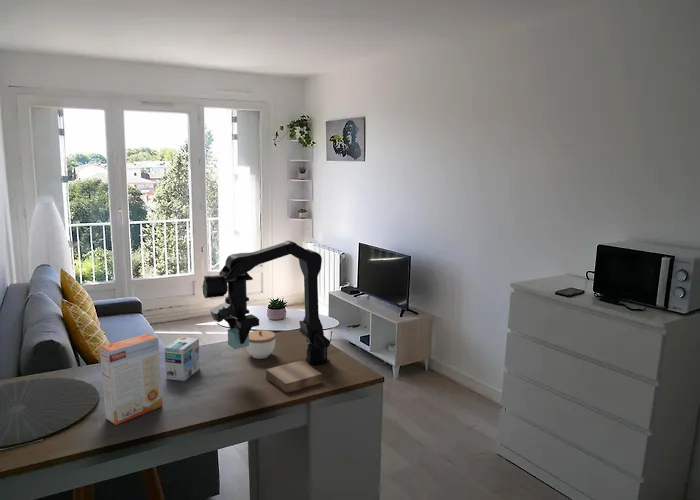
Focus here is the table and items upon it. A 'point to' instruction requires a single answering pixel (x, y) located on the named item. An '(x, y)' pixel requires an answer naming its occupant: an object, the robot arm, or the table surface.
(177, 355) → the light bulb box
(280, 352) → the table surface
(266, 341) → the lidded jar
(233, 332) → the block
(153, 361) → the cracker box
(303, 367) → the plinth
